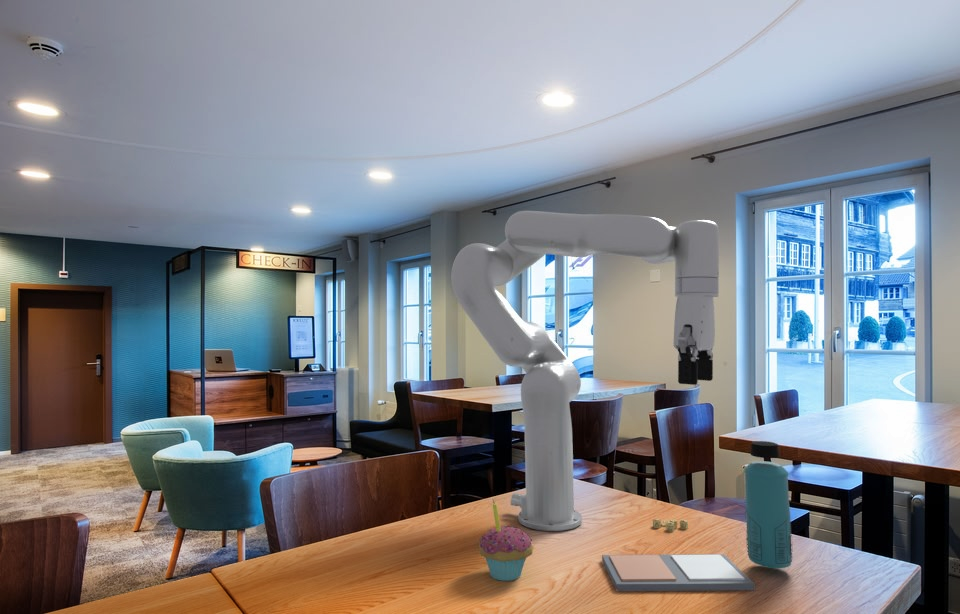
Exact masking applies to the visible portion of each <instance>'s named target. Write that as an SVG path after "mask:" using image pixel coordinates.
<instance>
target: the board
mask: <svg viewBox="0 0 960 614" xmlns="http://www.w3.org/2000/svg"><path fill="white" fill-rule="evenodd" d="M601 560H602V561H601V562H602V564H603V565H604V568H605V570H606V572H607V574H608V577H609V578H610V580H611V582H612V583H613V586H614V588H615V590H616V592H681V591H682V592H687V591H688V592H689V591H690V592H693V591H698V592H702V591H704V592H705V591H706V592H707V591H709V592H710V591H715V592H717V591H718V592H719V591H755V589H756V587H755V582H754V581H753V580H751V578H750V577H748V576H747V575H746V574H745V573H744V572H743V571H742V570H741V569H740V568H739V567H738V566H737V565H736V564H735V563H734V562H733V561H732V560H731V559H730V558H729V557H728V556H726V555H725V553H707V554H706V553H697V554H696V553H695V554H693V553H692V554H690V553H688V554H687V553H684V554H683V553H682V554H681V553H680V554H675V553H674V554H669V553H668V554H602V555H601Z"/></svg>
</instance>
